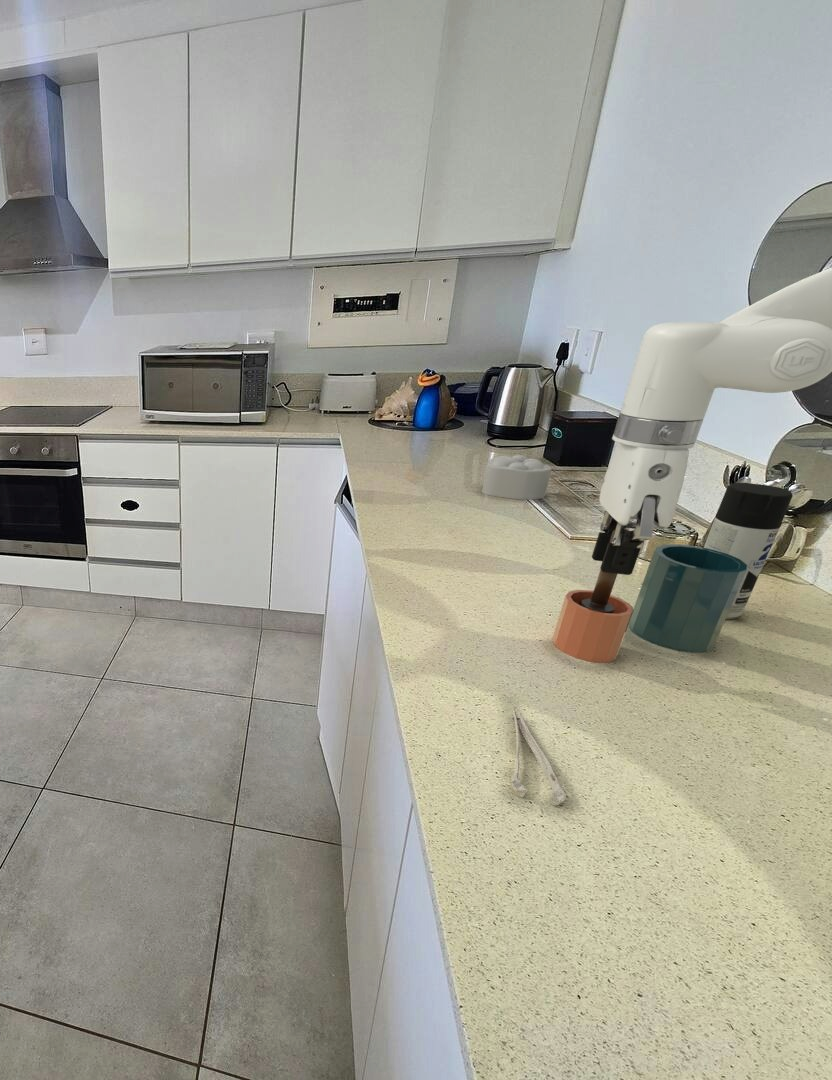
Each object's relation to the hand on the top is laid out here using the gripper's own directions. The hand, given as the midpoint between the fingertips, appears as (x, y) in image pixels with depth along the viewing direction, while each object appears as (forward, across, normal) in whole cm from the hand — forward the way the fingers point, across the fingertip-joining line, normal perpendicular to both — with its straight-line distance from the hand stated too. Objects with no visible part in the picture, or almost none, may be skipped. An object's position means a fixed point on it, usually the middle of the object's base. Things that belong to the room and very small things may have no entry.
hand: (610, 565), depth 77 cm
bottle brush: (+13, 0, 0) cm, 13 cm away
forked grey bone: (+14, -24, +11) cm, 30 cm away
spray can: (+14, +20, -21) cm, 32 cm away
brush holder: (+14, 0, 0) cm, 14 cm away
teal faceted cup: (+14, +8, -12) cm, 20 cm away
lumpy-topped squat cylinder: (+14, +75, -3) cm, 76 cm away
